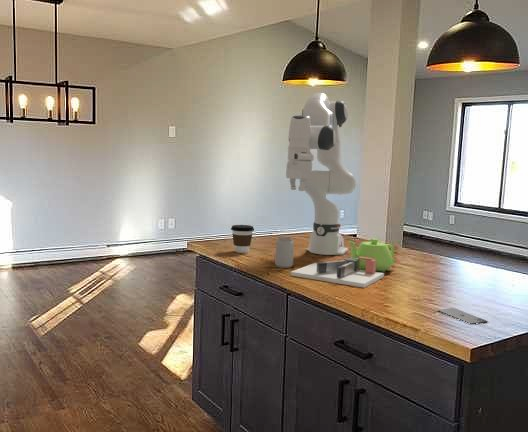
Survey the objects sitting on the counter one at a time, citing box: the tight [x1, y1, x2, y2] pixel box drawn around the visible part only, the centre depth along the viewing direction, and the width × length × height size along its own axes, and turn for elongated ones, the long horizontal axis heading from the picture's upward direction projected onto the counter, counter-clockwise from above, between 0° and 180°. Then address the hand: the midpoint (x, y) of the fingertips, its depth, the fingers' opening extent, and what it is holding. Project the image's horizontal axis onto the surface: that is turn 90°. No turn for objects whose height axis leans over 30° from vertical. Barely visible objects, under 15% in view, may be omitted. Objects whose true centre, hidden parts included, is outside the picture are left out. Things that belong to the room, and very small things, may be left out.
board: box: [290, 262, 385, 289], centre depth 221 cm, size 22×30×2 cm
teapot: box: [347, 238, 396, 273], centre depth 235 cm, size 22×15×13 cm
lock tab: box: [358, 257, 377, 274], centre depth 223 cm, size 3×6×6 cm, turn 60°
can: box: [274, 236, 295, 269], centre depth 235 cm, size 8×8×12 cm
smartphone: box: [437, 307, 489, 325], centre depth 173 cm, size 7×1×15 cm
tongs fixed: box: [337, 256, 360, 278], centre depth 219 cm, size 18×5×5 cm, turn 150°
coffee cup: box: [230, 224, 255, 254], centre depth 264 cm, size 11×11×12 cm
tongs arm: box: [316, 259, 347, 273], centre depth 221 cm, size 14×2×4 cm, turn 122°
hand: (297, 190), depth 228 cm, fingers open, 8 cm apart
